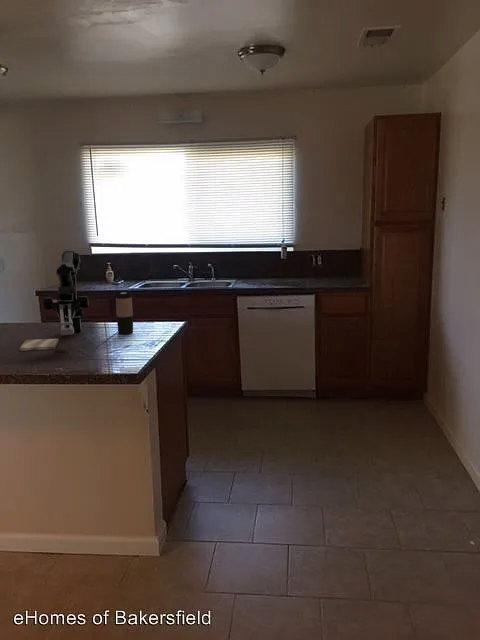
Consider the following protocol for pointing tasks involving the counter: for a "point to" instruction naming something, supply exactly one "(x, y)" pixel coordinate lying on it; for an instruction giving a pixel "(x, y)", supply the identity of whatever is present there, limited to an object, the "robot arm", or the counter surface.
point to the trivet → (39, 344)
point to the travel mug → (124, 312)
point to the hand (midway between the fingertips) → (65, 319)
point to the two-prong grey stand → (66, 330)
